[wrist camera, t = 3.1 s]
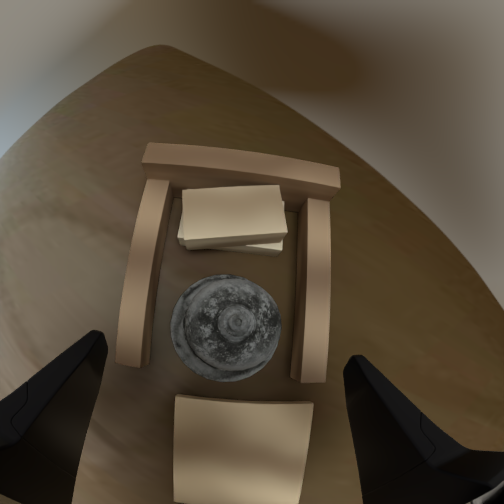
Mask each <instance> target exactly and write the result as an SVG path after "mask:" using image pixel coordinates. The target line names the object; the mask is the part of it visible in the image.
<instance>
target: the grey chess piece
mask: <svg viewBox="0 0 504 504" xmlns="http://www.w3.org/2000/svg"><path fill="white" fill-rule="evenodd" d="M170 323H171V338H172V341H173V345H174V348H175V351H176V352H177V354H178V355H179V357H180V358H181V360H182V361H183V363H184V364H185V365H186V366H188V367H189V368H190V369H191V370H192V371H193V372H194V373H196V374H198V375H200V376H202V377H204V378H206V379H209V380H214V381H219V382H233V381H239V380H242V379H245V378H248V377H250V376H252V375H253V374H255V373H256V372H258V371H259V370H261V369H262V368H263V367H264V366H265V365H266V364H267V362H268V361H269V360H270V359H271V358H272V356H273V354H274V352H275V350H276V347H277V345H278V341H279V338H280V333H281V328H282V327H281V315H280V313H279V310H278V307H277V304H276V303H275V302H274V300H273V299H272V297H271V296H270V295H269V294H268V293H267V292H266V291H265V290H264V289H263V288H261V287H260V286H258V285H257V284H255V283H253V282H251V281H249V280H247V279H245V278H243V277H239V276H235V275H230V274H228V275H214V276H210V277H207V278H203V279H201V280H199V281H198V282H196V283H194V284H193V285H191V286H190V287H189V288H188V289H187V290H186V291H185V292H184V293H183V294H182V295H181V296H180V298H179V300H178V302H177V303H176V305H175V307H174V309H173V314H172V318H171V322H170Z"/></svg>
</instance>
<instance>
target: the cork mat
mask: <svg viewBox="0 0 504 504" xmlns="http://www.w3.org/2000/svg"><path fill="white" fill-rule="evenodd" d="M313 406H314V403H313V402H311V401H246V400H230V399H218V398H207V397H198V396H190V395H182V394H177V395H176V396H175V414H174V449H173V481H174V502H180V503H187V504H298V502H299V497H300V492H301V487H302V482H303V476H304V470H305V465H306V458H307V452H308V445H309V438H310V431H311V423H312V415H313Z"/></svg>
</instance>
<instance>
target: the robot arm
mask: <svg viewBox="0 0 504 504" xmlns="http://www.w3.org/2000/svg"><path fill="white" fill-rule="evenodd" d="M107 354H108V346H107V343H106V339H105V336H104V333H103V332H101V331H97V330H92V331H90V332H89V333H87V334H86V335H85V336H83V337H82V338H81V339H80V340H78V341H77V342H76V343H74V344H73V345H72V346H70V347H69V348H68V349H67V350H65V351H64V352H63V353H61V354H60V355H59V356H58V357H56V358H55V359H54V360H52V361H51V362H50V363H49V364H47V365H46V366H45V367H44V368H42V369H41V370H40V371H39V372H37V373H36V374H35V375H34V376H32V377H31V378H30V379H29V380H28V382H27V381H26V382H25V383H24V384H22V385H21V386H20V387H19V388H17V389H16V390H15V391H14V392H12V393H11V394H10V395H8V396H7V397H5V398H4V399H2V400H1V401H0V504H72V497H73V492H74V486H75V481H76V475H77V470H78V466H79V461H80V457H81V453H82V449H83V445H84V441H85V437H86V433H87V429H88V426H89V422H90V419H91V415H92V412H93V409H94V405H95V402H96V399H97V396H98V393H99V389H100V385H101V381H102V376H103V371H104V367H105V362H106V358H107ZM343 377H344V386H345V397H346V406H347V412H348V417H349V422H350V427H351V432H352V437H353V443H354V448H355V454H356V460H357V465H358V471H359V478H360V484H361V491H362V499H363V504H504V452H495V451H479V450H471V449H468V448H465V447H464V446H462V445H460V444H459V443H458V442H457V441H455V440H454V439H453V438H451V437H450V436H449V435H448V434H446V433H445V432H444V431H443V430H441V429H440V428H439V427H438V426H436V425H435V424H434V423H433V422H432V421H431V420H430V419H429V418H428V417H427V416H426V415H424V414H423V413H422V412H421V411H420V410H419V409H418V408H417V407H416V406H415V405H414V404H413V403H412V402H411V401H410V400H409V399H408V398H407V397H406V396H405V395H404V394H403V393H402V392H401V391H399V390H398V389H397V388H396V387H395V386H394V385H393V384H392V383H391V382H390V381H389V380H388V379H387V378H386V377H385V376H384V375H383V374H382V373H381V372H380V371H379V370H378V369H377V368H376V367H375V366H373V365H372V364H371V363H370V362H369V361H368V360H367V359H366V358H365V357H364V356H363V355H353V356H351V357H350V359H349V361H348V363H347V364H346V366H345V368H344V370H343Z"/></svg>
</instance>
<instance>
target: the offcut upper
mask: <svg viewBox="0 0 504 504" xmlns="http://www.w3.org/2000/svg"><path fill="white" fill-rule="evenodd" d="M182 198H183V228H184V242H185V245H186V248H187V250H196V249H208V248H221V247H233V246H246V245H258V244H271V243H280V242H281V241H282V239H283V238H284V236H285V235H286V234H287V232H288V231H287V226H286V220H285V215H284V209H283V204H282V198H281V193H280V188H279V185H259V186H236V187H218V188H203V189H190V190H182Z"/></svg>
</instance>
